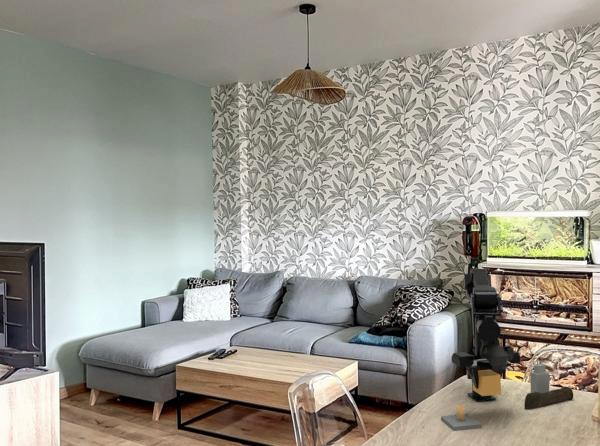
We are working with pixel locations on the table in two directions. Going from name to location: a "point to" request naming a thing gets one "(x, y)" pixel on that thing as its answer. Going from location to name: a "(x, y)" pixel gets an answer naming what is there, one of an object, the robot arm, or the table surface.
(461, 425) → the grey base with peg
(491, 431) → the table surface
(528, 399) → the hand tool
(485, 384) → the orange foam cube
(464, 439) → the table surface
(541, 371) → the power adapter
